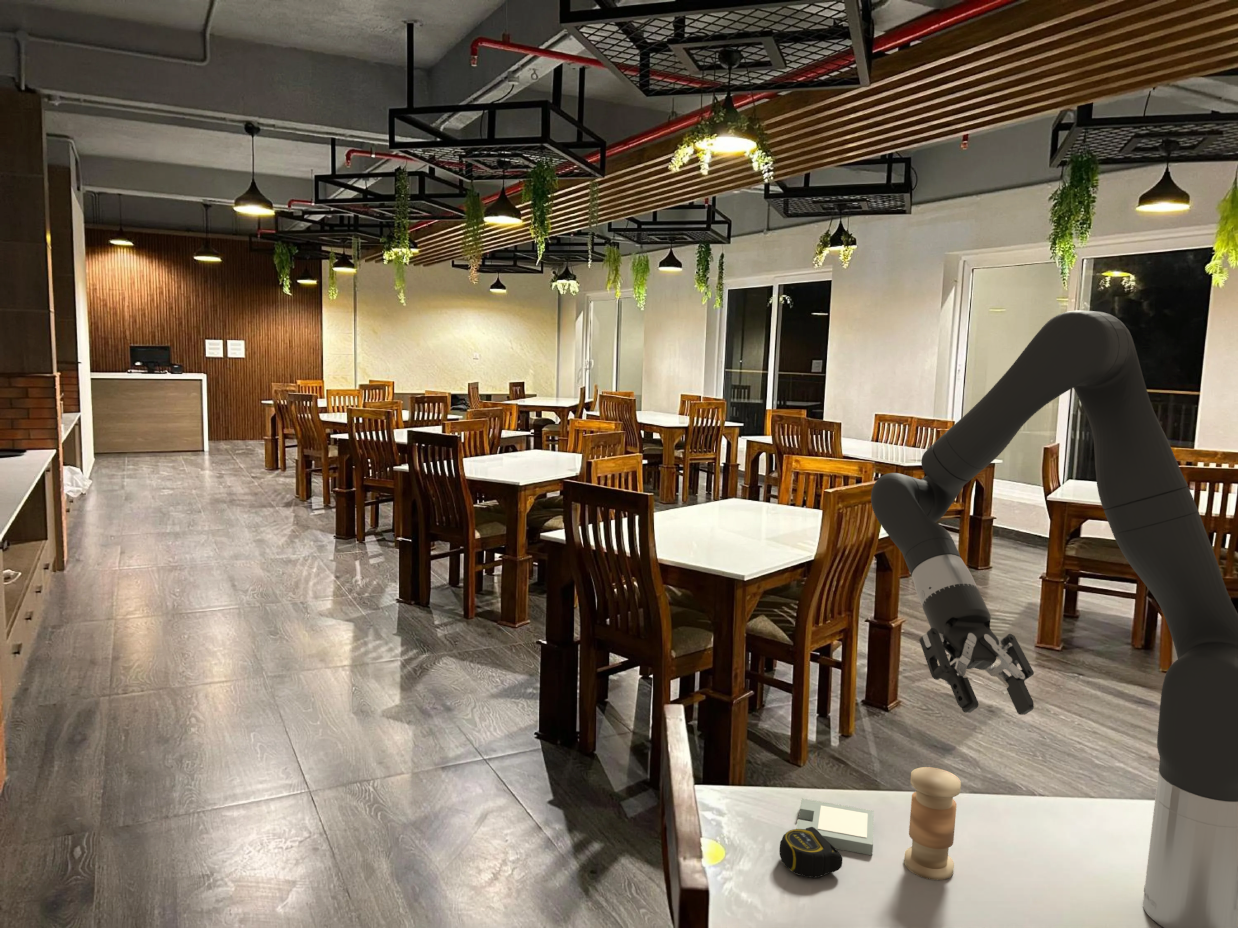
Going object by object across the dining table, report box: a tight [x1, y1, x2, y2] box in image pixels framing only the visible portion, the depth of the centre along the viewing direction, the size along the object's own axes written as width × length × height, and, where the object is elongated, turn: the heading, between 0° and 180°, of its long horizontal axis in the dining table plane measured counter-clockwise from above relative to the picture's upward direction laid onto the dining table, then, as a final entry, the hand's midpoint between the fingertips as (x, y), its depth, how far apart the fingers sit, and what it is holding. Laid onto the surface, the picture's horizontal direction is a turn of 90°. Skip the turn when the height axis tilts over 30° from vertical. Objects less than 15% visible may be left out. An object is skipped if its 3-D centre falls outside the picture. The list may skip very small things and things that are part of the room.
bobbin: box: [903, 766, 962, 881], centre depth 111 cm, size 6×6×12 cm
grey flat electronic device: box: [795, 797, 875, 856], centre depth 120 cm, size 10×9×2 cm
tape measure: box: [779, 827, 843, 878], centre depth 111 cm, size 7×7×4 cm
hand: (999, 710), depth 106 cm, fingers open, 8 cm apart
